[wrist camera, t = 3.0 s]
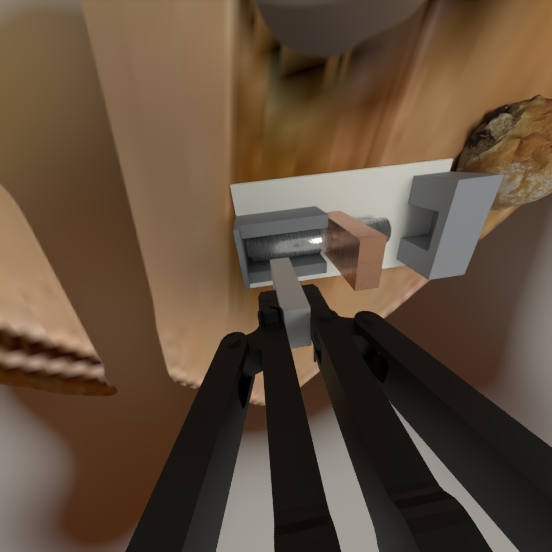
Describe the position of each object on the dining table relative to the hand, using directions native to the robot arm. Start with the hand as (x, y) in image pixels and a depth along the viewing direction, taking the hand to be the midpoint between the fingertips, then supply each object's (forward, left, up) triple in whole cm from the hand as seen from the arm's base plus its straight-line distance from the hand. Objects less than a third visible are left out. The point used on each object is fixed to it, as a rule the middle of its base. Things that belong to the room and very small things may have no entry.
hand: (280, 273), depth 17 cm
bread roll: (-6, +25, -9) cm, 28 cm away
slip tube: (0, +5, -8) cm, 9 cm away
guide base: (0, +8, -9) cm, 12 cm away
